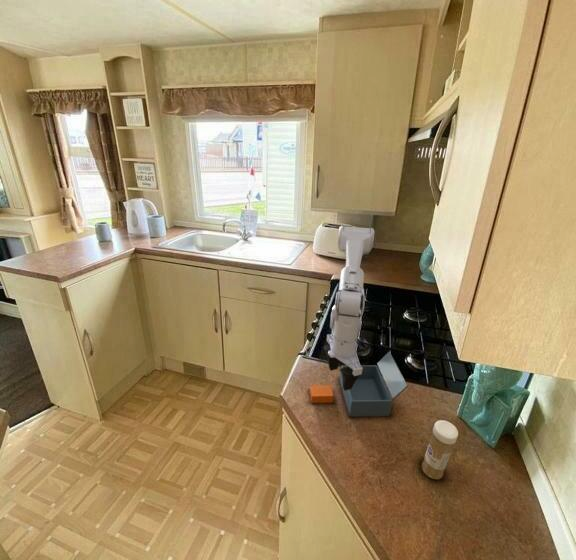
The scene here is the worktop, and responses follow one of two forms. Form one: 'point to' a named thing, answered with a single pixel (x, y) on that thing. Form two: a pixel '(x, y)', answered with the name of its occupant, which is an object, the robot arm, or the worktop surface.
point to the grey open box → (368, 394)
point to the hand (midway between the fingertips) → (340, 378)
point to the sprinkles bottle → (439, 449)
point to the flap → (392, 375)
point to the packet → (321, 394)
